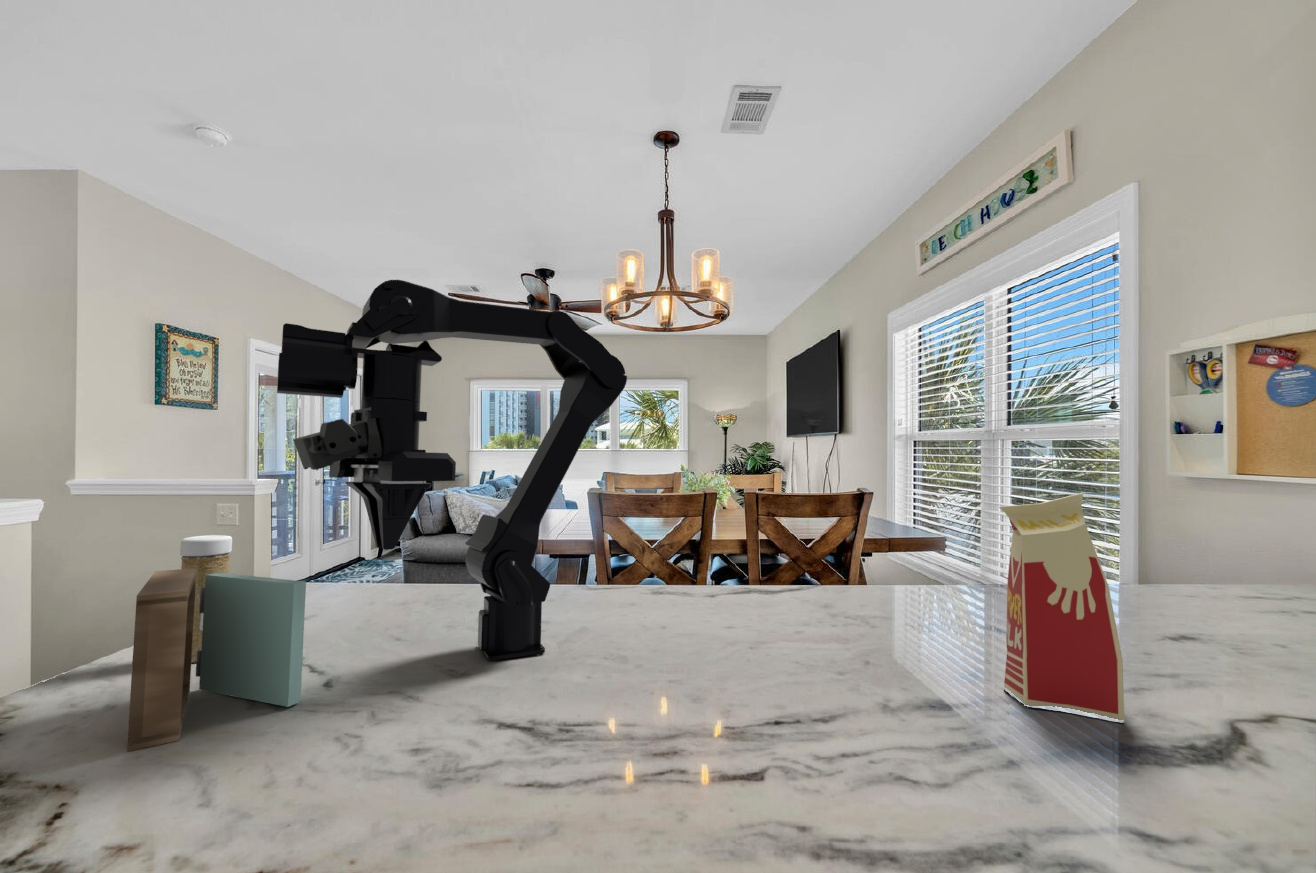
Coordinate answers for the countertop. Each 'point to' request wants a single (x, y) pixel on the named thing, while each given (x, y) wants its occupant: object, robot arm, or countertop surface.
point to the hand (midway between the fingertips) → (385, 548)
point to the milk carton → (1060, 613)
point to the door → (252, 637)
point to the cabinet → (161, 658)
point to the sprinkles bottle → (204, 571)
